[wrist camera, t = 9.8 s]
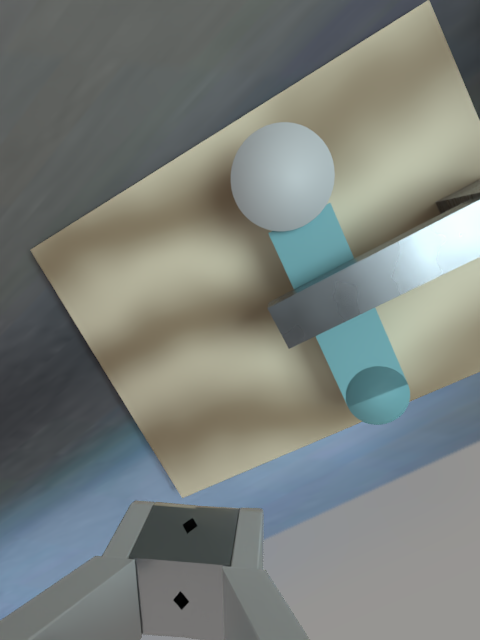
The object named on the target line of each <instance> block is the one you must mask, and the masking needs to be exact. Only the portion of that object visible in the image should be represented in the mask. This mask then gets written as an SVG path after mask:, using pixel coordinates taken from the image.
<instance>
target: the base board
mask: <svg viewBox="0 0 480 640" xmlns="http://www.w3.org/2000/svg"><path fill="white" fill-rule="evenodd" d="M279 122H290V123H296V124H299V125H302V126H305V127H307V128H309V129H310V130H312V131H313V132H315V133H316V134H317V135H318V136H319V137H320V138H321V139H322V140H323V141H324V143H325V144H326V146H327V147H328V149H329V151H330V153H331V156H332V159H333V164H334V171H335V178H334V186H333V190H332V193H331V196H330V198H329V201H328V203H327V204H329V203H331V205H332V208H333V210H334V212H335V215H336V217H337V219H338V222H339V224H340V226H341V229H342V231H343V233H344V236H345V238H346V240H347V243H348V245H349V247H350V250H351V252H352V254H353V257H354V258H356V257H358V256H360V255H362V254H364V253H366V252H368V251H370V250H372V249H374V248H376V247H377V246H379V245H381V244H383V243H385V242H387V241H389V240H391V239H393V238H395V237H397V236H399V235H401V234H403V233H405V232H407V231H409V230H411V229H412V228H414V227H416V226H418V225H420V224H422V223H424V222H426V221H428V220H430V219H432V218H434V217H436V216H438V215H440V211H439V209H438V207H437V205H436V203H435V202H437V201H439V200H440V199H442V198H444V197H446V196H448V195H450V194H452V193H454V192H456V191H458V190H460V189H462V188H463V187H465V186H467V185H469V184H471V183H473V182H475V181H477V180H479V179H480V120H479V118H478V115H477V113H476V111H475V108H474V106H473V104H472V101H471V99H470V96H469V94H468V92H467V89H466V87H465V84H464V82H463V80H462V77H461V75H460V73H459V70H458V68H457V65H456V63H455V61H454V58H453V56H452V53H451V51H450V49H449V46H448V44H447V42H446V39H445V37H444V34H443V32H442V30H441V27H440V25H439V22H438V20H437V18H436V15H435V13H434V11H433V8H432V6H431V3H430V1H429V0H428V1H426V2H425V3H423V4H421V5H420V6H418V7H417V8H415V9H413V10H412V11H410V12H409V13H407V14H405V15H404V16H402V17H401V18H399V19H398V20H396V21H394V22H393V23H391V24H390V25H388V26H386V27H385V28H383V29H382V30H380V31H378V32H377V33H375V34H374V35H372V36H370V37H369V38H367V39H366V40H364V41H362V42H361V43H359V44H358V45H356V46H354V47H353V48H351V49H350V50H348V51H346V52H345V53H343V54H342V55H340V56H339V57H337V58H335V59H334V60H332V61H331V62H329V63H327V64H326V65H324V66H323V67H321V68H319V69H318V70H316V71H315V72H313V73H311V74H310V75H308V76H307V77H305V78H303V79H302V80H300V81H299V82H297V83H295V84H294V85H292V86H291V87H289V88H287V89H286V90H284V91H283V92H281V93H280V94H278V95H276V96H275V97H273V98H272V99H270V100H268V101H267V102H265V103H264V104H262V105H260V106H259V107H257V108H256V109H254V110H252V111H251V112H249V113H248V114H246V115H244V116H243V117H241V118H240V119H238V120H236V121H235V122H233V123H232V124H230V125H228V126H227V127H225V128H224V129H222V130H221V131H219V132H217V133H216V134H214V135H213V136H211V137H209V138H208V139H206V140H205V141H203V142H201V143H200V144H198V145H197V146H195V147H193V148H192V149H190V150H189V151H187V152H185V153H184V154H182V155H181V156H179V157H177V158H176V159H174V160H173V161H171V162H169V163H168V164H166V165H165V166H163V167H162V168H160V169H158V170H157V171H155V172H154V173H152V174H150V175H149V176H147V177H146V178H144V179H142V180H141V181H139V182H138V183H136V184H134V185H133V186H131V187H130V188H128V189H126V190H125V191H123V192H122V193H120V194H118V195H117V196H115V197H114V198H112V199H110V200H109V201H107V202H106V203H104V204H103V205H101V206H99V207H98V208H96V209H95V210H93V211H91V212H90V213H88V214H87V215H85V216H83V217H82V218H80V219H79V220H77V221H75V222H74V223H72V224H71V225H69V226H67V227H66V228H64V229H63V230H61V231H59V232H58V233H56V234H55V235H53V236H51V237H50V238H48V239H47V240H45V241H44V242H42V243H40V244H39V245H37V246H36V247H34V248H32V249H31V252H32V254H33V255H34V257H35V259H36V260H37V262H38V263H39V265H40V267H41V268H42V270H43V272H44V273H45V275H46V277H47V278H48V280H49V281H50V283H51V285H52V286H53V288H54V290H55V291H56V293H57V294H58V296H59V298H60V299H61V301H62V303H63V304H64V306H65V308H66V309H67V311H68V312H69V314H70V316H71V317H72V319H73V321H74V322H75V324H76V325H77V327H78V329H79V330H80V332H81V334H82V335H83V337H84V339H85V340H86V342H87V343H88V345H89V347H90V348H91V350H92V352H93V353H94V355H95V356H96V358H97V360H98V361H99V363H100V365H101V366H102V368H103V370H104V371H105V373H106V374H107V376H108V378H109V379H110V381H111V383H112V384H113V386H114V387H115V389H116V391H117V392H118V394H119V396H120V397H121V399H122V400H123V402H124V404H125V405H126V407H127V409H128V410H129V412H130V414H131V415H132V417H133V418H134V420H135V422H136V423H137V425H138V427H139V428H140V430H141V431H142V433H143V435H144V436H145V438H146V440H147V441H148V443H149V445H150V446H151V448H152V449H153V451H154V453H155V454H156V456H157V458H158V459H159V461H160V462H161V464H162V466H163V467H164V469H165V471H166V472H167V474H168V476H169V477H170V479H171V480H172V482H173V484H174V485H175V487H176V489H177V490H178V492H179V493H180V495H181V497H182V498H184V497H186V496H189V495H191V494H193V493H196V492H198V491H200V490H203V489H205V488H207V487H210V486H212V485H214V484H217V483H219V482H222V481H224V480H226V479H229V478H231V477H233V476H236V475H238V474H240V473H243V472H245V471H247V470H250V469H252V468H254V467H257V466H259V465H261V464H264V463H266V462H269V461H271V460H273V459H276V458H278V457H280V456H283V455H285V454H287V453H290V452H292V451H294V450H297V449H299V448H301V447H304V446H306V445H309V444H311V443H313V442H316V441H318V440H320V439H323V438H325V437H327V436H330V435H332V434H334V433H337V432H339V431H341V430H344V429H346V428H349V427H351V426H353V425H356V424H358V423H360V422H363V421H361V420H359V419H357V418H356V417H355V416H354V415H353V414H352V413H351V411H350V410H349V408H348V406H347V404H346V402H345V400H344V397H343V395H342V393H341V391H340V389H339V386H338V384H337V382H336V380H335V378H334V376H333V373H332V371H331V369H330V367H329V365H328V362H327V360H326V358H325V356H324V354H323V352H322V349H321V347H320V345H319V343H318V341H317V338H316V336H315V337H313V338H311V339H309V340H307V341H304V342H302V343H300V344H298V345H296V346H294V347H292V348H290V349H289V348H288V346H287V344H286V342H285V340H284V339H283V337H282V335H281V333H280V331H279V329H278V327H277V325H276V324H275V322H274V320H273V318H272V316H271V314H270V312H269V310H268V309H267V308H268V303H269V302H270V301H272V300H274V299H276V298H278V297H280V296H282V295H284V294H286V293H288V292H290V291H292V290H294V288H293V286H292V284H291V282H290V280H289V277H288V275H287V273H286V271H285V269H284V266H283V264H282V262H281V260H280V258H279V256H278V253H277V251H276V249H275V247H274V245H273V242H272V240H271V238H270V236H269V234H268V233H270V232H272V231H271V230H268V229H264V228H262V227H260V226H258V225H256V224H254V223H253V222H251V221H250V220H249V219H248V218H247V217H246V216H245V215H244V214H243V213H242V212H241V210H240V209H239V207H238V206H237V204H236V202H235V199H234V197H233V193H232V189H231V168H232V164H233V161H234V158H235V155H236V153H237V151H238V150H239V148H240V146H241V145H242V144H243V142H244V141H245V140H246V139H247V138H248V137H249V136H250V135H251V134H252V133H254V132H255V131H257V130H258V129H260V128H262V127H264V126H266V125H270V124H273V123H279ZM327 204H326V205H327ZM375 308H376V310H377V313H378V315H379V317H380V320H381V322H382V324H383V327H384V329H385V331H386V334H387V336H388V338H389V341H390V343H391V345H392V348H393V350H394V352H395V355H396V357H397V359H398V362H399V364H400V367H401V369H402V371H403V374H404V376H405V378H406V381H407V383H408V385H409V389H410V400H409V402H410V401H412V400H414V399H417V398H419V397H421V396H424V395H426V394H429V393H431V392H433V391H436V390H438V389H440V388H443V387H445V386H447V385H450V384H452V383H454V382H457V381H459V380H461V379H464V378H466V377H469V376H471V375H473V374H476V373H478V372H480V257H479V258H477V259H474V260H472V261H470V262H468V263H466V264H464V265H462V266H460V267H458V268H456V269H454V270H452V271H450V272H447V273H445V274H443V275H441V276H439V277H437V278H435V279H433V280H431V281H429V282H427V283H425V284H423V285H421V286H418V287H416V288H414V289H412V290H410V291H408V292H406V293H404V294H402V295H400V296H398V297H396V298H394V299H392V300H389V301H387V302H385V303H383V304H381V305H379V306H377V307H375Z"/></svg>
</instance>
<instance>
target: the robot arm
mask: <svg viewBox="0 0 480 640" xmlns="http://www.w3.org/2000/svg"><path fill="white" fill-rule="evenodd" d="M142 634H143V635H158V636H173V637H186V638H192V639H200V640H310V639H309V637H308V636H307V634H306V633H305V631H304V630H303V628H302V626H301V625H300V624H299V622H298V620H297V619H296V617H295V616H294V614H293V612H292V611H291V609H290V608H289V606H288V604H287V603H286V602H285V600H284V598H283V597H282V595H281V593H280V592H279V590H278V589H277V587H276V586H275V584H274V582H273V581H272V579H271V578H270V576H269V575H268V573H267V571H266V570H263V510H262V509H259V508H225V507H208V506H195V505H184V504H173V503H162V502H156V503H155V502H146V501H134V502H133V503H132V504H131V505H130V506H129V508H128V510H127V512H126V514H125V515H124V517H123V519H122V521H121V523H120V524H119V526H118V528H117V530H116V532H115V534H114V535H113V537H112V539H111V541H110V543H109V544H108V546H107V548H106V550H105V552H104V553H103V555H102V556H95V557H93V558H92V559H90V560H89V561H87V562H86V563H84V564H83V565H81V566H80V567H78V568H77V569H75V570H74V571H72V572H71V573H70V574H68V575H67V576H65V577H64V578H62V579H61V580H59V581H58V582H56V583H55V584H53V585H52V586H50V587H49V588H48V589H46V590H45V591H43V592H42V593H40V594H39V595H37V596H36V597H34V598H33V599H31V600H30V601H28V602H27V603H25V604H24V605H23V606H21V607H20V608H18V609H17V610H15V611H14V612H12V613H11V614H9V615H8V616H6V617H5V618H3V619H2V620H1V621H0V640H140V639H141V638H142Z"/></svg>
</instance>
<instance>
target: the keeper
mask: <svg viewBox="0 0 480 640" xmlns="http://www.w3.org/2000/svg"><path fill="white" fill-rule="evenodd" d="M435 203H436V205H437V207H438V209H439V211H440V215H438V216H436V217H434V218H432V219H430V220H428V221H426V222H424V223H422V224H420V225H418V226H416V227H414V228H412V229H411V230H409V231H407V232H405V233H403V234H401V235H399V236H397V237H395V238H393V239H391V240H389V241H387V242H385V243H383V244H381V245H379V246H377V247H376V248H374V249H372V250H370V251H368V252H366V253H364V254H362V255H360V256H358V257H356V258H354V259H352V260H350V261H348V262H346V263H344V264H342V265H341V266H339V267H337V268H335V269H333V270H331V271H329V272H327V273H325V274H323V275H321V276H319V277H317V278H315V279H313V280H311V281H309V282H307V283H305V284H304V285H302V286H300V287H298V288H296V289H294V290H292V291H290V292H288V293H286V294H284V295H282V296H280V297H278V298H276V299H274V300H272V301H270V302H269V303H268V308H267V309H268V310H269V312H270V314H271V316H272V318H273V320H274V322H275V324H276V325H277V327H278V329H279V331H280V333H281V335H282V337H283V339H284V340H285V342H286V344H287V346H288V348H289V349H290V348H292V347H294V346H296V345H298V344H300V343H302V342H304V341H307V340H309V339H311V338H313V337H315V336H317V335H319V334H321V333H323V332H325V331H327V330H329V329H331V328H334V327H336V326H338V325H340V324H342V323H344V322H346V321H348V320H350V319H352V318H354V317H356V316H358V315H360V314H363V313H365V312H367V311H369V310H371V309H373V308H375V307H377V306H379V305H381V304H383V303H385V302H387V301H389V300H392V299H394V298H396V297H398V296H400V295H402V294H404V293H406V292H408V291H410V290H412V289H414V288H416V287H418V286H421V285H423V284H425V283H427V282H429V281H431V280H433V279H435V278H437V277H439V276H441V275H443V274H445V273H447V272H450V271H452V270H454V269H456V268H458V267H460V266H462V265H464V264H466V263H468V262H470V261H472V260H474V259H477V258H479V257H480V179H479V180H477V181H475V182H473V183H471V184H469V185H467V186H465V187H463V188H462V189H460V190H458V191H456V192H454V193H452V194H450V195H448V196H446V197H444V198H442V199H440V200H439V201H437V202H435Z"/></svg>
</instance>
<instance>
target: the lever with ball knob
mask: <svg viewBox="0 0 480 640" xmlns="http://www.w3.org/2000/svg"><path fill="white" fill-rule="evenodd" d="M334 178H335V171H334V164H333V159H332V156H331V153H330V151H329V149H328V147H327V146H326V144H325V143H324V141H323V140H322V139H321V138H320V137H319V136H318V135H317V134H316V133H315V132H313V131H312V130H310V129H309V128H307V127H305V126H302V125H299V124H296V123H290V122H279V123H273V124H270V125H266V126H264V127H262V128H260V129H258V130H257V131H255V132H254V133H252V134H251V135H250V136H249V137H248V138H247V139H246V140H245V141H244V142H243V144H242V145H241V146H240V148H239V150H238V151H237V153H236V155H235V158H234V161H233V164H232V168H231V189H232V193H233V197H234V199H235V202H236V204H237V206H238V207H239V209H240V210H241V212H242V213H243V214H244V215H245V216H246V217H247V218H248V219H249V220H250V221H251V222H253V223H254V224H256V225H258V226H260V227H262V228H264V229H268V230H271V231H272V232H270V233H268V234H269V236H270V238H271V240H272V242H273V245H274V247H275V249H276V251H277V253H278V256H279V258H280V260H281V262H282V264H283V266H284V269H285V271H286V273H287V275H288V277H289V280H290V282H291V284H292V286H293V288H294V289H296V288H298V287H300V286H302V285H304V284H305V283H307V282H309V281H311V280H313V279H315V278H317V277H319V276H321V275H323V274H325V273H327V272H329V271H331V270H333V269H335V268H337V267H339V266H341V265H342V264H344V263H346V262H348V261H350V260H352V259H354V257H353V254H352V252H351V250H350V247H349V245H348V243H347V240H346V238H345V236H344V233H343V231H342V229H341V226H340V224H339V222H338V219H337V217H336V215H335V212H334V210H333V208H332V205H331V203H329V204H327V203H328V201H329V198H330V196H331V193H332V190H333V186H334ZM326 204H327V205H326ZM316 338H317V341H318V343H319V345H320V347H321V349H322V352H323V354H324V356H325V358H326V360H327V362H328V365H329V367H330V369H331V371H332V373H333V376H334V378H335V380H336V382H337V384H338V386H339V389H340V391H341V393H342V395H343V397H344V400H345V402H346V404H347V406H348V408H349V410H350V411H351V413H352V414H353V415H354V416H355V417H356V418H357V419H359V420H361V421H363V422H365V423H368V424H374V425H380V424H386V423H389V422H392V421H394V420H395V419H397V418H398V417H400V416H401V415H402V414H403V413H404V411H405V410H406V408H407V406H408V404H409V400H410V389H409V385H408V383H407V381H406V378H405V376H404V374H403V371H402V369H401V367H400V364H399V362H398V359H397V357H396V355H395V352H394V350H393V348H392V345H391V343H390V341H389V338H388V336H387V334H386V331H385V329H384V327H383V324H382V322H381V320H380V317H379V315H378V313H377V310H376V308H373V309H371V310H369V311H367V312H365V313H363V314H360V315H358V316H356V317H354V318H352V319H350V320H348V321H346V322H344V323H342V324H340V325H338V326H336V327H334V328H331V329H329V330H327V331H325V332H323V333H321V334H319V335H317V336H316Z"/></svg>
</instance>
